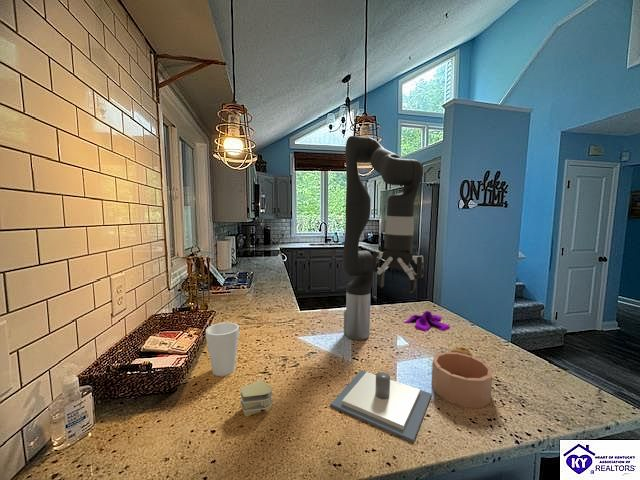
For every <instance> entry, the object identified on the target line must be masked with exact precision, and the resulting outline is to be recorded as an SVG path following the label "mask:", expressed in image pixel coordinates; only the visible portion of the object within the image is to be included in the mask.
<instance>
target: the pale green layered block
mask: <svg viewBox="0 0 640 480" xmlns="http://www.w3.org/2000/svg"><path fill="white" fill-rule="evenodd" d="M239 389H240V393H239V395H240V397H241V399H240V401H239V402H240V405H241V408H242V411H243V414H244V417H248V416H251V415H256V414H258V413H261V412H262V411H261V410H267V409H270V408H271V406H272V404H273V403H274V401H273V400H272V396H273V395H274V393H273V392H272V390H273V389H274V388H273V387H272V386H271V385H270V384H268V383H267V382H266V381H264V380H257V381H254V382H252V383H249V384H246V385H244V386H241V387H239Z"/></svg>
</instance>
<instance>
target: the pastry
mask: <svg viewBox="0 0 640 480" xmlns="http://www.w3.org/2000/svg"><path fill="white" fill-rule="evenodd" d="M449 352H457V353H462V354H466V355H470V356H473V355H472V353H471V352H470V350H469V349H468V348H465V347H463V346H461V347H459V346H456V347H455V348H453V349H452V350H450V351H449Z"/></svg>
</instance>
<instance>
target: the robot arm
mask: <svg viewBox="0 0 640 480" xmlns="http://www.w3.org/2000/svg"><path fill="white" fill-rule="evenodd" d="M344 152H345V153H344V154H345V170H346V174H345V175H346V188H345V189H346V191H345V192H346V193H345V231H344V234H345V235H344V242H343V243H344V244H343V251H342V258H341V259H342V263H341V264H342V269H343V271H344V273H345V274H346V276H348V277H354V276H355V277H354V278H353V279H352V280H351V281H349V282H348V283H347V284H346V287H345V288H346V292H345V293H346V295H345V297H346V298H345V299H346V301H345V302H346V304H345V305H346V306H345V310H344V311H343V336H345V337H347V338H349V339H352V340H357V341H358V340H359V341H360V340H361V341H362V340H366V339H368V338H370V326H371V324H370V323H371V322H370V321H371V292H372V291H371V290H372V286H373V284H374V283H373V282H374V272H375V273H376V274H377V278H376V279H377V281H376V282H377V283H376V284H377V286H378V287H379V288H384V286H385V272H386V270H388V268H390V269H396V270H400V271H402V270H403V271H404V272H405V274H407V276H408V278H409V280H408V289H407V290H408V293H410V294H412V293H413V292H414V291H415V290H416V286H417V285H416V283H417V280H419V279H422V278H423V277H424V276H425V260H424V259H425V257H424V255H413V240H414V231H415V230H414V229H415V228H414V227H415V226H414V211H415V210H414V207H415V201H416V197H417V194H418V191H419V187H420V186H421V184H422V183H421V182H422V179H423V175H424V168H423V165H422V163H421V162H420V161H419V160H417V159H412V158H411V159H410V158H401V157H400V156H399V155H398V154H397V153H395V152H394V151H393V152H392V151H390V150H388V149H386V148H384V146H382V145H381V144H380V142H378V141H377V140H376V139H375V138H373V137H370V136H359V135H351V136H348V137H347V140H346V143H345V150H344ZM368 163H370V165H371V168H372V169H373V170H374V171H375V172H377V173H378V174H380V176H381V178H382V181H383V182H384V183H385V184H388V185H391V186H403V188H402V190H401V192H399V193H396V194H391V195H389V196H388V198H387V208H386V209H387V210H386V220H385V228H384V243H383V245H384V246H383V248H384V250H383V251H380V250H374V251H373V252H372V253H371V252H370V251H369V250H363V249H362V250H359V246H360V245H359V244H360V239H361V236H362V234H363V232H364V230H365V229H366V227H367V224H368V223H369V221H370V217H371V207H372V206H371V203H372V201H371V196H370V194H369V191H368V190H367V188H366V187H365V185H364V183H363V181H362V180H361V179H362V178H361V176H360V174H359V169H358V164H368ZM381 258H383V259H384V262H383V264H382V265H381V266H380V259H381ZM412 261H414V264H416V272H415V270H414V267H412V265H411V263H412Z"/></svg>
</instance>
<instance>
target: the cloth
mask: <svg viewBox="0 0 640 480" xmlns="http://www.w3.org/2000/svg"><path fill="white" fill-rule="evenodd" d="M441 320H443V317H442V316H440V315H437V314H436V315H435V314H432V312H431V311H430V310H425V311H424V312H423V313H422V314H421V315H419V314H412V315H411V316H410V317H409V318H408V319H407V320H406V321H404V323H406V324H411V323H413V322H415V325H414V329H417V330H420V331H423V332H428V330H430V329H431V326H432V327H435V328H437V329H438V331H441V332H443V331H446V330H448V329H450V328H451V326H450V325H448V324H446V323H443V322H441Z"/></svg>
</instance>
